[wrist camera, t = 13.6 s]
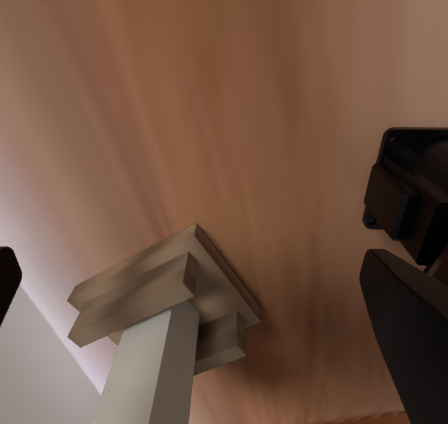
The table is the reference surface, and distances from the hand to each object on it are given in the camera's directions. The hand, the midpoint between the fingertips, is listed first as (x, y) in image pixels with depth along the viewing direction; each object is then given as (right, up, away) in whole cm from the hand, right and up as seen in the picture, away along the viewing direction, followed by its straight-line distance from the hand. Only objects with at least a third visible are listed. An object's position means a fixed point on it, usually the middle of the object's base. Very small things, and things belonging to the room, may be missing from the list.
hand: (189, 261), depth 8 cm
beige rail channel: (-3, -5, +17) cm, 18 cm away
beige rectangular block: (-3, -6, +16) cm, 17 cm away
